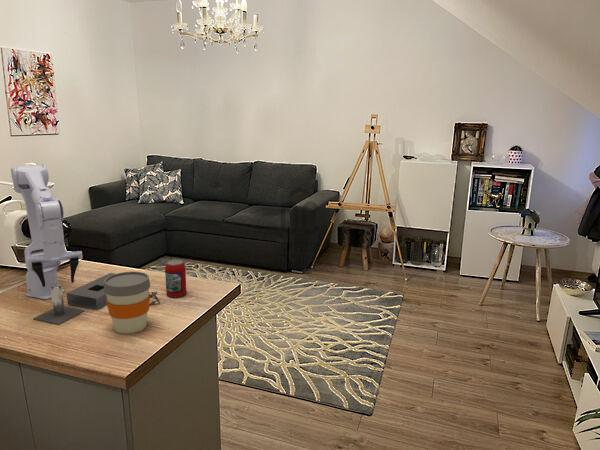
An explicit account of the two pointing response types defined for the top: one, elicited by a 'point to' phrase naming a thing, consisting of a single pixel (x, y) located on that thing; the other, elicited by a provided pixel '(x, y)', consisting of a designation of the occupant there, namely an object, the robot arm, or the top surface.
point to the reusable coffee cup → (128, 300)
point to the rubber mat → (59, 320)
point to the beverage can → (175, 278)
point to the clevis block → (89, 295)
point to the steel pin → (57, 299)
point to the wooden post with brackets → (154, 298)
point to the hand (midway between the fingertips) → (58, 283)
